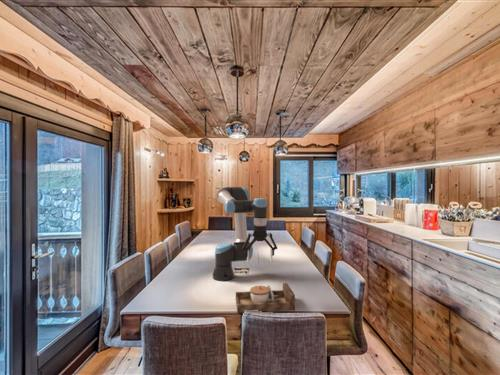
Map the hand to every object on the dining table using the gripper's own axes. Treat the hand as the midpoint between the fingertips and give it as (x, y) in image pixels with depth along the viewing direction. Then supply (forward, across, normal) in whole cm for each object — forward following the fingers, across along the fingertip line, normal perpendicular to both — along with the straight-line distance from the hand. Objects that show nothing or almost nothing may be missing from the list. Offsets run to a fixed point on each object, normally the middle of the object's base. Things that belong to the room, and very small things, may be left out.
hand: (259, 261), depth 151 cm
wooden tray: (+20, +1, -10) cm, 23 cm away
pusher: (+20, +7, -10) cm, 23 cm away
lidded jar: (+20, -1, -10) cm, 22 cm away
